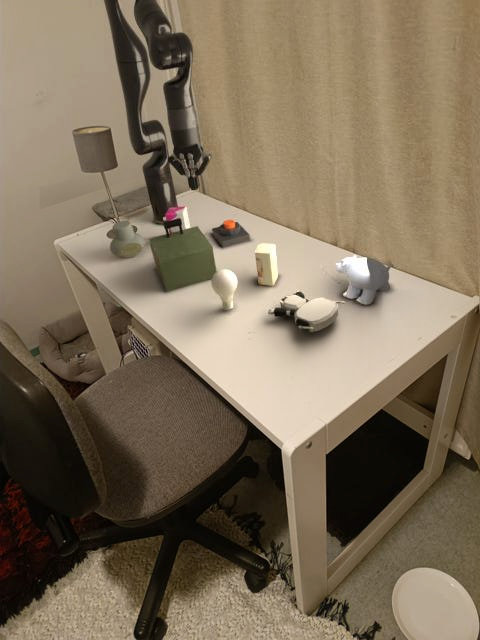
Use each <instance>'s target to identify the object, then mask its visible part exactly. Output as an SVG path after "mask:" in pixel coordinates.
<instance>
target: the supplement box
mask: <svg viewBox="0 0 480 640" xmlns="http://www.w3.org/2000/svg"><path fill="white" fill-rule="evenodd" d="M165 216H166V220H167V221H170V220H174V219H178V218H180V219H181V221H182V230H184V229H188V228H191V223H190V218H189V213H188V208H187V206H178V207H172V208H169V209H168V211H167V213H166V214H165ZM177 231H180V229H179V226H177V227H173V228H169V229H168V232H169V233H173V232H177Z"/></svg>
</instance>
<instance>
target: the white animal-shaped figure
mask: <svg viewBox="0 0 480 640" xmlns="http://www.w3.org/2000/svg"><path fill="white" fill-rule="evenodd" d="M392 267H394V264H393V263H392V264H390V265H388V266H386V265H385V264H384V263H383V262H381V261H380V260H377V259H375V258H372V257H371V258H370V257H358V258H357V255H355V254H354V255H353V256H352V257H350V256H347V257H344V259H341V261H340V262H339V263H338V262H336V263H335V266H334V268H335V269H336V270H335V272H336V273H337V274H344V275H346V277H347V280H348V281H349V285H348V287H347V290H346V291H345V292H343V294H342V296H343V297H345V298H347V299H351V300H353V299H354V300H355V299H356V300H355V301H356V302H358V303H360V304H362V305H364V306H365V305H366V306H367V305H371V304H372V303H373V302H374V300H375V296H376V293H377V291H381V292H385V291H389V290H390V288H391V286H390V285H391V284H390V283H389V281H390V272H389V271H390V269H391V268H392ZM361 290H362V293H361ZM360 293H361V295H360Z"/></svg>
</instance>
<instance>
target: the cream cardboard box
mask: <svg viewBox="0 0 480 640" xmlns="http://www.w3.org/2000/svg"><path fill="white" fill-rule="evenodd" d="M276 249H277V248H276V243H266V242H260V243H259V244H258V245H257V246H256V249H255V251H254V256H255V264H256V274H257V282H258V285H261V286H270V287H271V286H274V285H275V284H276V282H277V279H278V277H279V275H278V274H279V273H278V262H277V252H276V251H277V250H276Z"/></svg>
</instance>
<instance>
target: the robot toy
mask: <svg viewBox="0 0 480 640" xmlns="http://www.w3.org/2000/svg"><path fill="white" fill-rule="evenodd" d="M279 304H280V307H275V308H269V309H268V310H267V314H268V315H269V316H271V315H274V317H275V318H276V317H277V318H282V317H284V316H288V317H293V318H294V322H295V323H294V324H295V325H296V327H297V328H298V329H300V330H303V331H307V332H310V333H312V332H319V331H321V330H323V329H325V328H327V327H328V326H330V325H331V324H333V323H334V322H335V321H336V319H338V316H339V304H342V305H344V304H346V302H345V301H337V300H336V301H335V300H333V299H329V298H326V297H322V296H321V297H315V298H313V299H311V300H309V299H308V298H306V297H305V294H304V293H303V292H302V291H301V290H296V291H293V292H292V295H286V296H284V297H282V298H281V299H280V300H279Z"/></svg>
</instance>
